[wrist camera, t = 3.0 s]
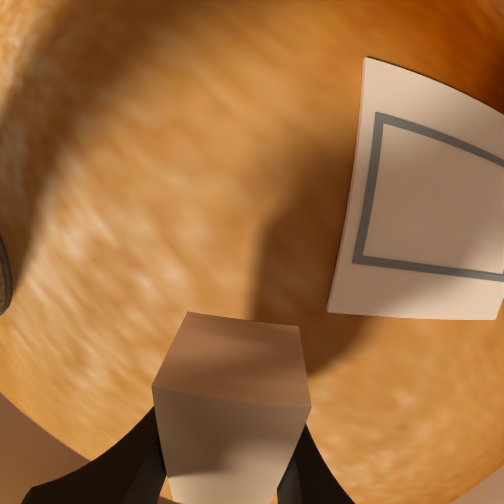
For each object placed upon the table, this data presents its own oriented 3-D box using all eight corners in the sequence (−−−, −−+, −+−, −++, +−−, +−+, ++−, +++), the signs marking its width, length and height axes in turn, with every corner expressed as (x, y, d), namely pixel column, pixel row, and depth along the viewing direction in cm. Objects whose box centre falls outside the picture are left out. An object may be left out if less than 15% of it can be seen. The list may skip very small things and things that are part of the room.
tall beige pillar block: (298, 326, 10) (311, 407, 6) (266, 449, 13) (264, 513, 9) (187, 311, 10) (151, 385, 7) (189, 439, 13) (173, 501, 9)
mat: (529, 134, 10) (534, 134, 10) (491, 316, 14) (495, 320, 13) (362, 59, 10) (366, 56, 10) (326, 308, 14) (328, 313, 14)
